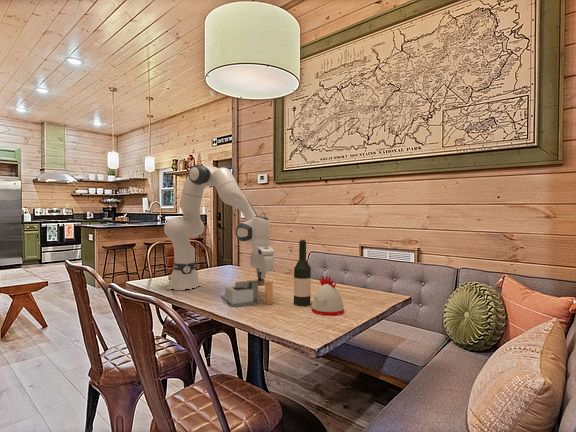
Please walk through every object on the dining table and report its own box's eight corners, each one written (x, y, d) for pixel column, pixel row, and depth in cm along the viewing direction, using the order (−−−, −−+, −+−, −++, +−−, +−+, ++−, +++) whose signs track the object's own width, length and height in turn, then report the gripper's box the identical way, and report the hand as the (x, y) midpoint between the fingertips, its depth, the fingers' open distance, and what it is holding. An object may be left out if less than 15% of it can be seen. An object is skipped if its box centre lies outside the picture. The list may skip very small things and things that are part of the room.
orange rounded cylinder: (263, 303, 161) (263, 282, 161) (270, 302, 163) (270, 281, 162) (266, 305, 158) (267, 283, 158) (273, 304, 159) (274, 282, 159)
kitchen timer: (323, 305, 159) (323, 272, 159) (349, 310, 150) (349, 276, 150) (305, 311, 148) (305, 277, 148) (332, 318, 140) (333, 281, 139)
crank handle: (235, 287, 161) (235, 273, 161) (262, 284, 168) (262, 271, 168) (237, 288, 158) (237, 274, 158) (264, 285, 165) (265, 272, 165)
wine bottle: (290, 304, 159) (290, 240, 159) (298, 300, 166) (298, 238, 166) (306, 307, 155) (307, 240, 155) (313, 302, 162) (314, 239, 162)
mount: (221, 298, 169) (221, 279, 169) (245, 295, 175) (245, 277, 175) (233, 307, 153) (233, 286, 153) (260, 304, 159) (260, 283, 159)
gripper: (247, 247, 173) (246, 274, 173) (263, 251, 155) (263, 282, 155) (258, 247, 176) (258, 273, 176) (276, 251, 158) (275, 281, 158)
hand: (260, 278), depth 166 cm, fingers closed on crank handle, 3 cm apart
